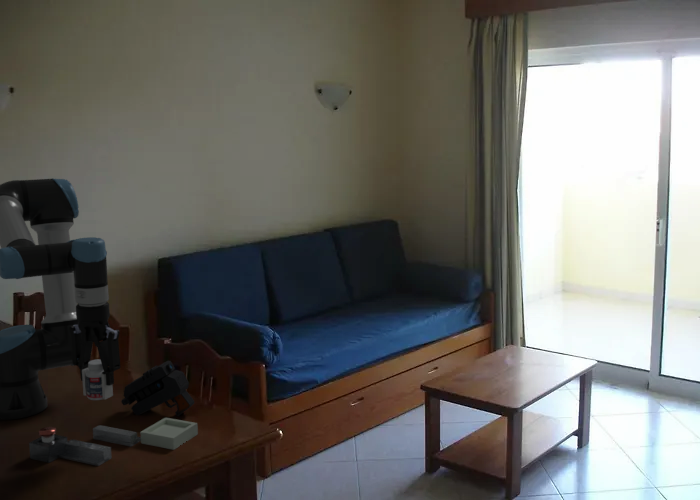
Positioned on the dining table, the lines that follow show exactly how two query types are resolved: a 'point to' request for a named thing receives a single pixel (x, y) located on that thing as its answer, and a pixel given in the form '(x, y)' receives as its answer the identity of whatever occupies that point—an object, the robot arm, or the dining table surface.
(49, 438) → the plunger
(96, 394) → the pill bottle
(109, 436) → the socket
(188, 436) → the tray
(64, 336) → the robot arm
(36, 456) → the block
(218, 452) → the dining table surface
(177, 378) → the tool
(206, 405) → the dining table surface
